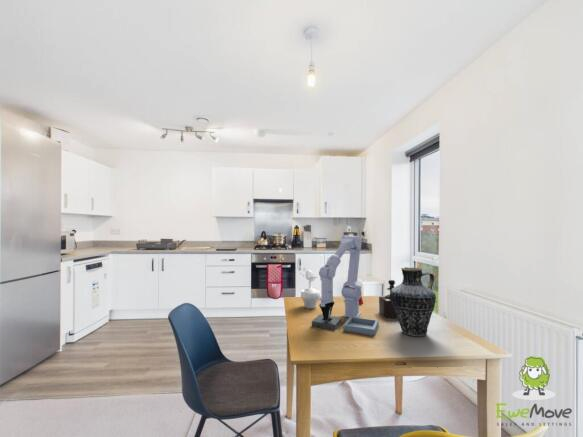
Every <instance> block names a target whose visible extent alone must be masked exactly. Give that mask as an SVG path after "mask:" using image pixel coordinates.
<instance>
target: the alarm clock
mask: <svg viewBox="0 0 583 437" xmlns="http://www.w3.org/2000/svg"><path fill="white" fill-rule="evenodd" d="M358 301H359V306H360V305H363V304H364V302H363V301H364V299H363V296H362V295H361V298H360V299H359V300H358Z"/></svg>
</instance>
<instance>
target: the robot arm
mask: <svg viewBox="0 0 583 437" xmlns="http://www.w3.org/2000/svg"><path fill="white" fill-rule="evenodd" d="M339 240H340V241H339V242H340V244H339V246H338V248H337V249H336V251H335V254H332V255H331V256H330V257H329V259H328V260H327V261H326V263H325V264H324V265H322V266H321V267H320V269H319V271H318V275H319V277H320V282H321V291H320V292H321V293H320V298H319V299H318V301H320V303H319V308H320V310H321V313H322V314H321V315H323V318H324V319H328V317H329V310H330V316H332V311H333V307H334V306H335V301H334V292H333V291H334V290H333V288H334V281H333V280H334V278H335V276H336V273H337V272H336V271H337V268H338V266H339V265H340V264H341V258H342V257H343V255H344V254H345V253H346V252H347V251H348V252H349V260H348V271H347V280H346V281H345V282H344V283H343V284H342V285H343V286H342V288H341V296H342V297H343V300H344V313H343V315H342V317H345V318H350V316H352V317H359V316H360V315H361V311H360V305H359V301H358V300H359V299H360V298H361V296H362V285H361V284H360V283H359V282H358V278H359V266H360V265H359V264H360V255H361V251H362V243H363V240H362V238H361V237H360V236H359V235H345V234H343V235H342V236H341V238H340V239H339ZM330 307H331V309H330Z"/></svg>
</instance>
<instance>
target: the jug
mask: <svg viewBox="0 0 583 437" xmlns="http://www.w3.org/2000/svg"><path fill="white" fill-rule="evenodd" d="M401 273H402V276H403V278H402V282H401V283H399V284H398V285H396V286H394V288H393V289H392V290H391V293H390V292H389V295H390V298H391V302H392V305H393V308H394V310H395V312H396V315H397V318H396V319H397V320H398V323H399V326H400V328H401V332H402V333H404V334H405V335H408V336H412V337H424V336H426V335H427V332H428V328H429V324H430V322H431V317H432V315H433V311H434V309H435V306H436V305H435V304H436V301H437V300H436V299H437V297H436V296H437V295H436V293H435V292H434V290H433V286H434V283H435V275H434V273H433V272H430V271H429V270H427V271H423V268H422V267H407V266H406V267H401ZM424 276H429V282H428V285H426V286H425V285H424V284H423V283H422V277H424Z"/></svg>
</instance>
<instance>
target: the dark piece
mask: <svg viewBox="0 0 583 437" xmlns="http://www.w3.org/2000/svg"><path fill="white" fill-rule="evenodd" d="M395 284H396V280H394V279H390V280H388V285H389V287H387V288H386V290H388V291H389V294H387V295H384V296H378V310H379V315H380V316H383V318H385V319H398V318H397V315H396V312H395V310H394V308H393V305H392V302H391V298H390V293H391V290H392V289H393V288H394V287H395Z"/></svg>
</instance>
